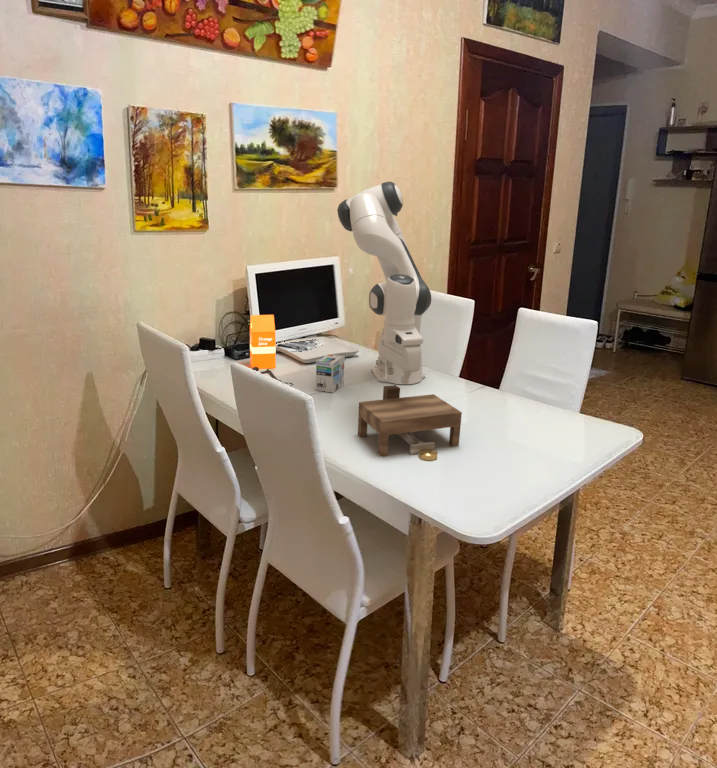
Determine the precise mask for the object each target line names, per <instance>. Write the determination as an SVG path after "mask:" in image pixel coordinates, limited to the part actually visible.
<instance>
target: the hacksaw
mask: <svg viewBox="0 0 717 768" xmlns="http://www.w3.org/2000/svg"><path fill="white" fill-rule="evenodd" d="M253 369H254V370H256V371H259V370H260V369H259V368H258V367H253ZM253 369H252V370H253ZM274 369H275V368H269V369H265V370H263V371H260V372H261V373H260V374H266V373H268V374H269V376H270V377H272V379H273V378H275V379H277V380H279V381H281V379H278V378H277V376H275V374H274V373H273V371H274ZM254 370H253V371H254ZM281 382H283V381H281ZM288 383H290V385H291V386H292V385H293V386H294V383H293V382H285V384H288ZM292 383H293V384H292Z"/></svg>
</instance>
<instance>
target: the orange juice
mask: <svg viewBox="0 0 717 768" xmlns="http://www.w3.org/2000/svg"><path fill="white" fill-rule="evenodd" d="M274 315H275V314H252V315H250V319H249V320H250V321H249V322H250V323H249V358H250V359H249V363H250V367H251V368H252V370H253V367H258V368H259V370H262V369H263V370H267V369H268V370H270V369H269V368H272V369H276V363H277V362H276V361H277V360H276V353H277V352H276V351H277V349H276V347H275V343H276V325H275V316H274Z"/></svg>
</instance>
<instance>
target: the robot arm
mask: <svg viewBox="0 0 717 768" xmlns="http://www.w3.org/2000/svg"><path fill="white" fill-rule="evenodd" d="M403 200H404V199H403V194H402V191H401V190H400V188H399V186H398V185H396V183H395V182H393V181H385V182H381V184H378V185H374V186H371V187H367V188H366V189H364V190H363V191H360V192H359V193H357V194H355V195H352V196H351V197H349V198H347V199H344V200H343V201H341V202H340V203H339V204H338V207H337V217H338V221H339V223H340V224H341V226H342V227H343V228H344V230H345V231H349V232H352V236H353V238H354V241H355V243H356V246H358V248H359V249H360V251H363V253H366V254H368V255H371V256H374V257H377V260H378V262H379V264H380V265H379V266H380V267H381V269H382V272H383V275H384V277H385V281H384V282H380V283H376V284H375V285H373V286H372V288H371V289H370V291H369V295H368V298H369V299H368V302H369V303H368V304H369V308H370V309H371V311H373V313H374V314H376V315H379V316H384V323H383V329H382V330H381V333H380V334H379V339H378V344H377V345H378V347H377V348H378V349H377V352H378V355H379V356H378V357H377V359H376V360H375V364H376V365H375V366H373V367H370V372H371V373H372V372H373V373H372V374H373V376H375V378H376V380H377V381H378V382H381V383H382V382H383V383H390V384H394V385H395V384H396V385H413V384H418V383H420V382H422V379H424V378H425V377H426V374H425V373H423V356H422V347H421V345H423V344H424V343H423V342H424V338H423V336H422V335H421V323H422V317H423V314H424V313H425V312H427V311H428V309H429V308H430V306H431V303H432V294H431V293H432V292H431V290H430V288H429V286H428V285H427V283H426V282H425V280H424V279H423V277H422V276H421V274H420V272H419V269H418V267H417V265H416V263H415V260H414V259H413V257H412V255H411V252H410V250H409V248H408V245H407V241H406V239H405V237H404V235H403V232H402V229H401V227H400V225H399V223H398V221H397V219H396V217H397V216H398V214H399V213H400V211H402V208H403V205H404V204H403V202H404V201H403Z"/></svg>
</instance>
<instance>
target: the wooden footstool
mask: <svg viewBox="0 0 717 768" xmlns="http://www.w3.org/2000/svg"><path fill="white" fill-rule="evenodd" d="M462 414H463V412H462V411H460V410H459V409H457V408H456V407H455V406H453V405H451V404H450V403H448V402H446V401H445V400H443V399H442V398H440V397H439V396H437V395H436V394H434V393H433V394H426V395H425V394H423V395H414V396H404V397H400V398H393V399H383V398H382V399H375V400H374V399H373V400H365V401H358V416H357V417H358V421H357V422H358V423H357V436H358V437H359V438H363V437H362V436H367V437H368V426H370V427H371V428H372V429H373V430H374V431H376V432H377V433H378V436H377V453H378V454H379V455H380V456H382V457H387V456H388V453H389V452H388V450H389V449H388V447H389V436H390V435H391V436H392V435H398V434H400V433H408V432H411V433H415V432H422V431H430V430H439V429H446V428H449V439H448V440H449V441H448V445H450V446H451V447H453V448H454V447H459V446H460V438H461V437H460V436H461V424H462ZM377 453H376V454H377ZM378 454H377V455H378ZM379 455H378V456H379ZM380 456H379V457H380Z"/></svg>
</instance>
